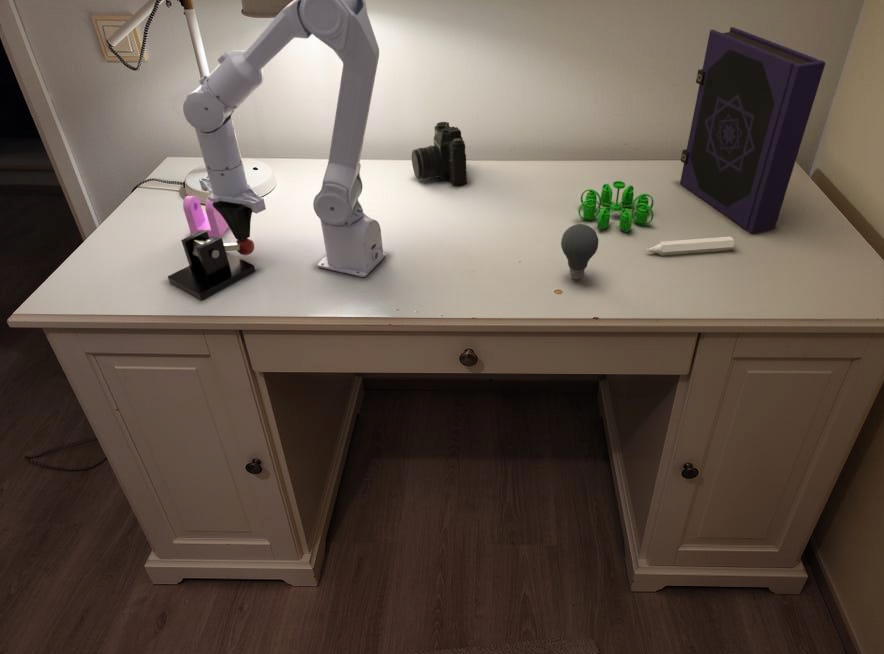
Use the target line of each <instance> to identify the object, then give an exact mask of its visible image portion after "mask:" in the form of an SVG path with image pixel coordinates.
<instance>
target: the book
mask: <svg viewBox="0 0 884 654" xmlns="http://www.w3.org/2000/svg"><path fill="white" fill-rule="evenodd" d="M706 44H707V45H706V49H705V54H704V59H703V63H702V68H701V69H700V68H699V69H698V70H697V73H696V79H695V83H696V84H698V88H697V89H698V90H697V94H696V101H695V105H694V111H693V114H692V115H693V116H692V121H691V124H690V129H689V130H690V131H689V135H688V140H687V145H686V149H682V151H681V152H682V153H681V156H680V162H681V163H683V166H682V170H681V175H680V181H679V184H680V185H681V186H682V187H684V188H685V189H687V190H688V191H690V192H691V193H692V194H694V195H696V197H698V198H700V199H701V200H703V201H704V202H706V204H708V205H710V206H711V207H713V208H714V209H715V210H717V211H718V212H719V213H721V214H722V215H724V216H725V217H727V218H728V219H729V220H731V221H733V222H734V223H735V224H736V225H738V226H740V227H741V228H742V229H744V230H745V231H747V232H748V233H750V234H759V233H764V232H768V231H771V230H773V229H776V227H777V222H778V219H779V216H780V213H781V209H782V208H783V207H782V206H783V203H784V200H785V196H786V194H787V190H788V187H789V183H790V182H791V181H790V180H791V177H792V174H793V170H794V167H795V164H796V160H797V158H798V155H799V151H800V147H801V144H802V141H803V138H804V135H805V132H806V129H807V125H808V122H809V118H810V116H811V113H812V108H813V105H814V102H815V98H816V97H817V96H816V95H817V92H818V89H819V86H820V82H821V79H822V76H823V73H824V69H825V66H826V62H825V61H824V60H821V59H818V58H816V57H814V56H810V55H808V54H805V53H803V52H800V51H798V50H794V49H792V48H789V47H786V46H784V45H782V44H779V43H776V42H773V41H771V40H769V39H766V38H763V37H761V36H758V35H755V34H752V33H751V32H747V31H745V30H742V29H739V28H737V27H734V26H731V27H730V28H729V31H727V32H721V31H717V30H716V29H710V30H709V34H708V39H707V43H706Z"/></svg>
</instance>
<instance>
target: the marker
mask: <svg viewBox="0 0 884 654" xmlns="http://www.w3.org/2000/svg"><path fill="white" fill-rule="evenodd" d="M733 248H735V240H734V239H733V237H732V236H719V237H706V238H694V239H693V238H692V239H680V240H666V241H665V240H664V241H659V242H658V243H657V244H656V245H654V246H652V247H649V248H647V249H644V251H646V252H650V253H655V254H658V255H659V256H660V257H661V256H675V255H686V254H688V255H689V254H700V253H701V254H702V253H712V252H713V253H714V252H727V251H732V250H733Z"/></svg>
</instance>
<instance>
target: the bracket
mask: <svg viewBox="0 0 884 654" xmlns="http://www.w3.org/2000/svg"><path fill="white" fill-rule="evenodd" d="M204 207H205V209H204V210H205V211H203V208H202V204H201V200H200V199H199V197H197V195H196V196H195V195H186V196H185V197H184V199H183V203H182V208H183V213H184V215H185V218H186V222H187V225H188V229H189V231H190V236H191V235H193V234H195V233H197V232H200V231H202V230H206V231H207V232H208V235H209V238H217V237H220V238H222V236H223V235H224V233H225V232H227V230H228V229H229V226H228V224H227V223H226V221H225V220H224V218H223V217H222V216H221V214H220V213H219V212H218V211H217V210H216V209H215V208H214V207H213V202H212V201H210V200H208V197H207V198H206V200H205V205H204Z"/></svg>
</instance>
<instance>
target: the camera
mask: <svg viewBox="0 0 884 654" xmlns="http://www.w3.org/2000/svg"><path fill="white" fill-rule="evenodd" d="M411 164H412V165H411V166H412V169H413V173H414V177H415V178H416V179H417V180H427V179H433V178H439V179H441V180H443V181H449V182H451V183H452V186H453V187H461V186H465V185H466V184H468V182H467V179H468V176H467V173H468V172H467V154H466V144H465V140H463V137H462V131H461V130H460V129H459V128H458V127H457V126H450V122H448V121H440V122H437V123H436V125H435V126H434V136H433V145H429V146H425V147H418V148H416V149H413V150H412V151H411Z"/></svg>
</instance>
